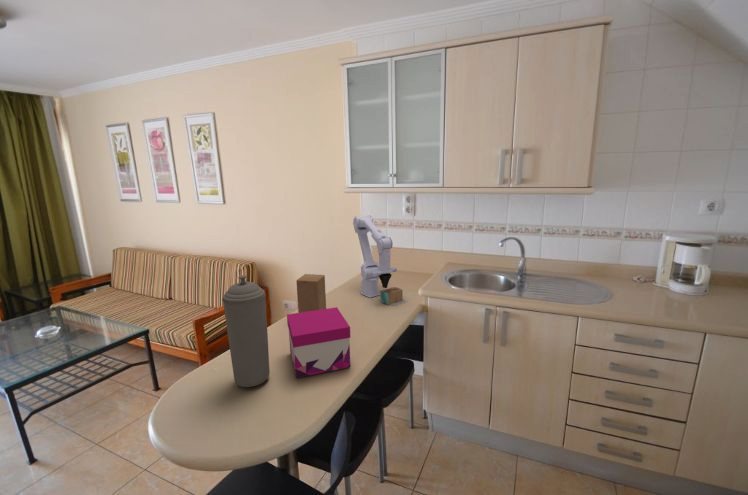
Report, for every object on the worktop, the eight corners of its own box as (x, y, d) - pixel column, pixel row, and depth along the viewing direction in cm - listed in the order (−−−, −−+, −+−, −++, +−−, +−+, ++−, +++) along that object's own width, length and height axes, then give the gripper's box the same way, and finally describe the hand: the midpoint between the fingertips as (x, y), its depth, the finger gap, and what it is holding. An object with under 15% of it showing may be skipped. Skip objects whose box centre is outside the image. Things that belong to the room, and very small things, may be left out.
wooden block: (319, 323, 152) (317, 281, 148) (298, 322, 154) (295, 280, 150) (326, 314, 162) (325, 274, 158) (307, 313, 164) (304, 273, 160)
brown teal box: (380, 290, 175) (394, 286, 181) (380, 301, 176) (395, 297, 182) (387, 293, 171) (402, 289, 176) (387, 304, 172) (402, 300, 178)
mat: (378, 300, 180) (378, 299, 179) (394, 295, 186) (394, 295, 186) (393, 307, 170) (393, 306, 170) (409, 302, 177) (409, 301, 177)
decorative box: (338, 342, 135) (336, 307, 132) (351, 367, 117) (350, 327, 114) (289, 351, 128) (286, 314, 125) (295, 378, 111) (292, 336, 108)
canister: (237, 395, 103) (225, 285, 95) (227, 376, 113) (215, 275, 106) (278, 380, 110) (269, 276, 103) (265, 363, 120) (256, 268, 113)
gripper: (378, 265, 163) (378, 292, 165) (400, 260, 171) (400, 286, 174) (369, 262, 168) (369, 289, 171) (391, 258, 177) (391, 283, 179)
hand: (384, 287), depth 173 cm, fingers closed
